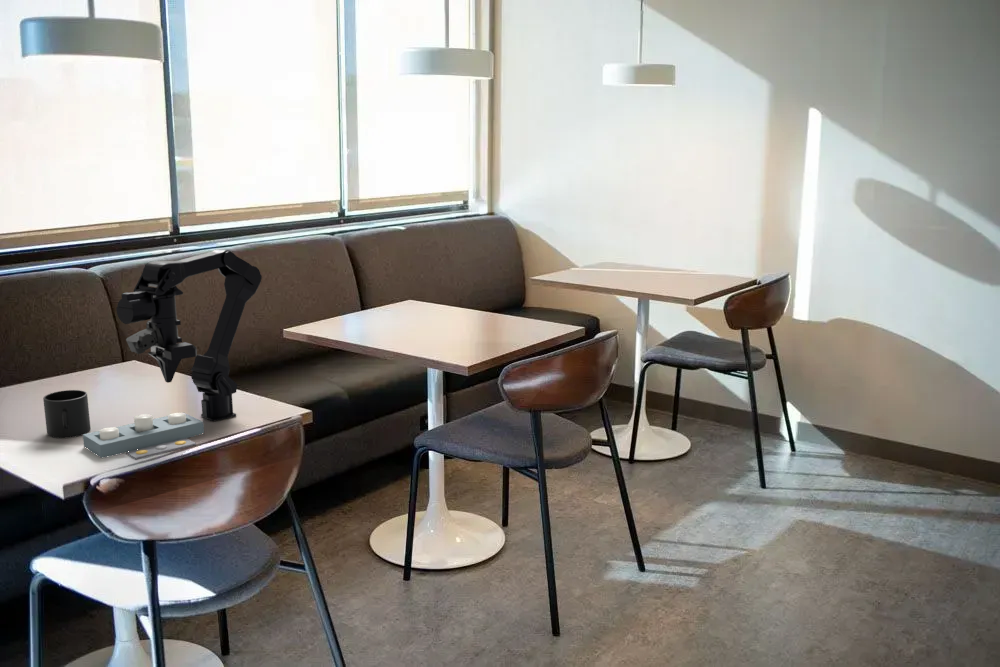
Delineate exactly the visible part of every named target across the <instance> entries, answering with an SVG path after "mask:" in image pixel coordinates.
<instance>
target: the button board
mask: <svg viewBox="0 0 1000 667" xmlns="http://www.w3.org/2000/svg"><path fill="white" fill-rule="evenodd" d="M182 413H185V414H186V422H184V423H180V424H175V425H171V424H169V423H168V415H166V416H161V417H158V418H157V417H156V418H153V428H154V429H153V430H149V431H144V432H140V433H138V432H136V431H135V424H134V422H133V423H129V424H125V425H120V426H115V428H118V429H119V437H118V438H113V439H109V440H104V441H102V440H100V433H99V431H100V430H98V431H92V432H87V433H85V434H83V435H82V441H83V442H82V443H83V447H84V448H85V447H86V448H88V449H89V450H90V451H89V450H88V449H87V450H88V451H89V452H91V451H92V452H91V453H93V454H94V453H95V454H94V455H96V454H97V455H98V456H97V455H96V456H97V457H99V456H100V457H99V458H101V459H103V458H102V457H105V458H108V457H107V456H109V457H113V456H117V455H121V454H120V453H122V454H124V452H128V451H133V450H137V449H142V448H146V447H150V446H154V445H159V444H163V443H167V442H171V441H175V440H180V439H184V438H187V439H189V438H193V437H196V436H195V435H197V436H200V435H199V434H201V435H203V434H202V433H204V434H205V429H204V428H205V427H204V426H205V425H204V421H202V420H201V419H199V418H196V417H194V416H193V415H190V414H188V413H186V412H182ZM86 448H85V449H86ZM116 454H117V455H116ZM112 455H113V456H112Z"/></svg>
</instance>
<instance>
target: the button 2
mask: <svg viewBox="0 0 1000 667" xmlns="http://www.w3.org/2000/svg"><path fill="white" fill-rule="evenodd" d="M185 413H186V412H184V413H183V412H174V413H170V414H168V415H167V416H168V423H169V424H171V425H175V424H180V423H184V422H186V414H187V413H186V414H185Z"/></svg>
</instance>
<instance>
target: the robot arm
mask: <svg viewBox="0 0 1000 667" xmlns="http://www.w3.org/2000/svg"><path fill="white" fill-rule="evenodd" d="M213 270H214V271H215V270H218V273H219V274H220V275H222V277H224V283H223V285H224V291H225V295H226V296H225V299H224V302H223V304H222V307H221V311H220V313H219V316H218V319H217V322H216V325H215V329H214V331H213V335H212V337H211V340H210V343H209V346H208V348H207V351H206V352H205V353H204V354H202V355H201V354H198V349H197V348H198V347H196V346H195V345H194V344H192V343H189V342H185V341H183V338H182V337H180V336H179V333H178V332H179V330H178V326H181V325H182V324H181V323H182V322H181V320H180V319H178V316H177V306H176V305H177V304H176V303H177V302H176V296H182V295H183V294H184V292H183V291H182V290H181V289H179V288H178V287H177V286H178V285H180V284H182V283H183V282H184V281H185V280H186V279H187V278H189V277H193V276H196V275H199V274H204V273H207V272H210V271H213ZM262 278H263V277H262V274H261V271H260V270H259V268H258V267H257V266H254V265H251V264H250V263H249V262H248V261H245V260H244V259H243V258H241V257H238V256H237V255H236V254H235V253H233V251H231V250H228V249H219V248H217V249H214V250H212V251H209V252H208V251H207V252H205V253H201V254H197V255H194V256H191V257H185V258H183V259H182V258H181V259H180V260H179V259H178V260H155V261H154V260H153V261H149V262H146V263H145V264H144V267H143V269H142V272H141V275H140V277H139V279H138V281H137V282H136V285H135V286H134V289H133V292H124V293H121V298H120V299H119V300H118V302H117V305H116V314H117V317H118V319H119V320H120V322H121V323H122V324H124V325H129V324H134V323H135V324H136V323H139V322H144V321H146V323H145V325H146V328H145V329H141V330H140V331H138V332H136V333H135V332H134V334H132V335H130V336H128V337H127V338H126V339H125V341H126V343H127V345H128V348H129V349H130V351H131V353H135V354H137V355H141V354H143V353H145V352H146V351H147V350H149V349H150V351H149V352H147V355H149V356H151V357H152V358H153V359H155V360H156V362H157V364H158V366H159V369H160V371H161V374H162V376H163V379H164V381H165V383H172V382H173V379H174V377H175V374H176V371H177V370H178V367H179V365H180V362H182V360H184V359H189V358H193V357H194V363H193V366H192V367H191V369H190V371H191V376H190V379H191V380H192V383H193V384H194V385H195V387H196V389H197V392H198V393H202V399H201V413H200V416H201V417H202V418H205V419H206V420H208V421H211V422H216V421H221V420H226V419H229V418H234V417H237V413H235V412H234V406H233V404H234V403H233V394H236V393H237V391H238V390H237V388H238V383H237V382H236V381H235V380H233V379H232V378H231V377H230V376H229V375H230V371H231V370H230V369H231V368H230V362H229V353H230V350H231V348H232V345H233V342H234V338H235V336H236V333H237V330H238V327H239V325H240V321H241V318H242V315H243V312H244V309H245V305H246V303H247V302H248V301H249V300H250V299H251V298H252V297H253V296H254V295H255V294H256V293H257V291H258V288H259V287H260V285H261V283H262Z"/></svg>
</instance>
